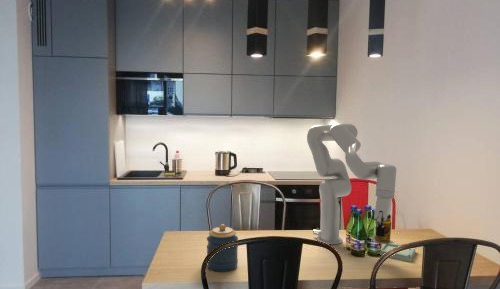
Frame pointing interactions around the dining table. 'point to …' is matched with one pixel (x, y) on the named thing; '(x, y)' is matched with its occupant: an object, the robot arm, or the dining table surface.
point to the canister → (225, 257)
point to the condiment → (386, 233)
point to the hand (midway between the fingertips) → (381, 233)
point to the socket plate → (402, 255)
